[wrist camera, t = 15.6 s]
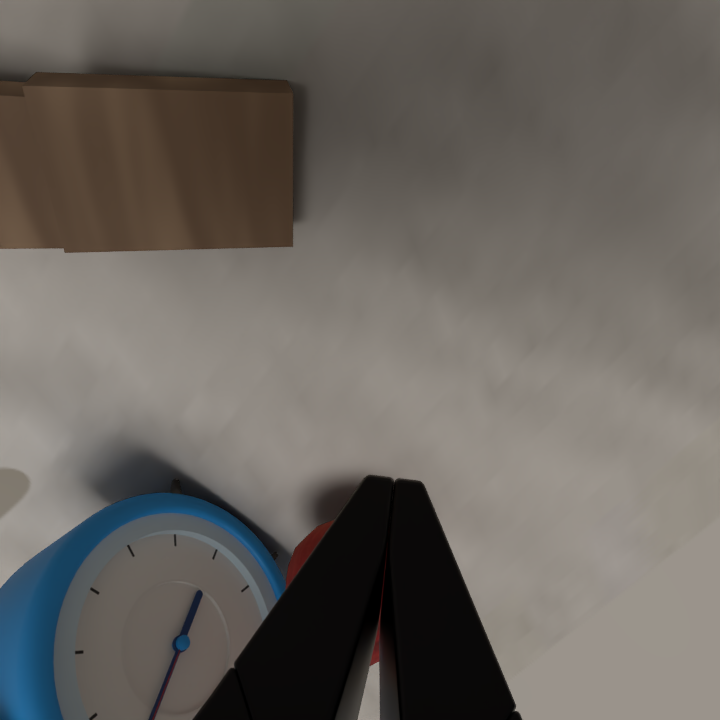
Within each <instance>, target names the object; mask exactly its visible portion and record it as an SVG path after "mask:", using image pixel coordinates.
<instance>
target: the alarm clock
mask: <svg viewBox="0 0 720 720" xmlns="http://www.w3.org/2000/svg"><path fill="white" fill-rule="evenodd" d="M277 556H278V554H277V552H274V553H273V554H271V555H270V553H269V552H268V550H267V549H266V548H265V546H264V545H263V544H262V542H261V541H260V540H259V539H258V538H257V537H256V535H255V534H254V533H253V532H252V531H251V530H250V529H249V528H248V527H247V526H246V525H244V524H243V523H242V522H241V521H240V520H238V519H237V518H236V517H234V516H233V515H231V514H230V513H228V512H227V511H225V510H223V509H222V508H220V507H218V506H216V505H214V504H212V503H209V502H207V501H205V500H202V499H199V498H196V497H192V496H188V495H183V494H182V492H181V488H180V483H179V480H177V479H174V480H173V481H172V485H171V491H170V493H151V494H144V495H139V496H135V497H131V498H128V499H125V500H122V501H119V502H116V503H114V504H112V505H110V506H108V507H105V508H104V509H102V510H100V511H99V512H97V513H95V514H94V515H92V516H91V517H89V518H88V519H86V520H85V521H84V522H82V523H81V524H79V525H78V526H76V527H75V528H74V529H72V530H71V531H69V532H68V533H67V534H65V535H64V536H62V537H61V538H60V539H58V540H57V541H55V542H54V543H52V544H51V545H50V546H48V547H47V548H45V549H44V550H43V551H41V552H40V553H38V554H37V555H36V556H34V557H33V558H32V559H30V560H29V561H28V562H26V563H25V564H24V565H23V566H22V567H21V568H19V569H18V570H17V571H16V572H15V573H14V574H13V575H12V576H11V577H10V578H9V579H8V580H7V581H6V583H5V584H4V585H3V586H2V587H1V588H0V720H192V719H193V718H194V716H195V715H196V714H197V712H198V711H199V710H200V708H201V707H202V706H203V704H204V703H205V702H206V700H207V699H208V698H209V696H210V695H211V694H212V692H213V691H214V689H215V688H216V687H217V685H218V684H219V682H220V681H221V680H222V678H223V677H224V675H225V674H226V672H227V671H228V670H229V669H230V668H234V662H235V660H236V659H237V657H238V656H239V655H240V653H241V652H242V650H243V649H244V648H245V646H246V645H247V643H248V642H249V640H250V639H251V638H252V636H253V635H254V633H255V632H256V631H257V629H258V628H259V626H260V625H261V623H262V622H263V621H264V619H265V618H266V616H267V615H268V614H269V612H270V611H271V609H272V608H273V606H274V605H275V604H276V602H277V601H278V599H279V598H280V597H281V595H282V594H283V592H284V591H285V588H286V582H285V580H284V578H283V576H282V574H281V572H280V570H279V568H278V566H277V564H276V562H275V559H276V558H277Z"/></svg>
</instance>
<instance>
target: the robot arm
mask: <svg viewBox="0 0 720 720" xmlns="http://www.w3.org/2000/svg"><path fill="white" fill-rule="evenodd" d="M393 487H394V490H393ZM392 497H393V499H392ZM391 507H392V509H391ZM390 516H391V518H390ZM389 526H390V527H389ZM388 535H389V536H388ZM387 544H388V546H387ZM386 554H387V555H386ZM385 563H386V565H385ZM384 572H385V575H384ZM383 582H384V584H383ZM382 591H383V594H382ZM381 600H382V604H381ZM380 610H381V614H380ZM379 617H380V629H379V667H380V720H522V718H521V715H520V714H519V712H517V711H515V708H516V704H515V702H514V699H513V697H512V694H511V692H510V690H509V687H508V685H507V682H506V680H505V678H504V675H503V673H502V670H501V668H500V666H499V663H498V661H497V658H496V656H495V654H494V651H493V649H492V646H491V644H490V642H489V639H488V637H487V634H486V632H485V630H484V627H483V625H482V622H481V620H480V618H479V615H478V613H477V610H476V608H475V606H474V603H473V601H472V598H471V596H470V594H469V591H468V589H467V586H466V584H465V582H464V579H463V577H462V574H461V572H460V570H459V567H458V565H457V562H456V560H455V557H454V555H453V553H452V550H451V548H450V545H449V543H448V541H447V538H446V536H445V533H444V531H443V529H442V526H441V524H440V521H439V519H438V517H437V514H436V512H435V509H434V507H433V505H432V502H431V500H430V497H429V495H428V493H427V490H426V488H425V486H424V484H423V483H422V482H421V481H417V480H409V479H401V478H399V479H396V480H395V482H394V481H393V479H392V478H391V477H385V476H377V475H368V476H366V477H365V478H364V479H363V480H362V482H361V483H360V485H359V486H358V488H357V489H356V490H355V492H354V493H353V495H352V496H351V497H350V499H349V500H348V502H347V503H346V505H345V506H344V507H343V509H342V510H341V512H340V513H339V514H338V516H337V517H336V519H335V520H334V522H333V523H332V524H331V526H330V527H329V529H328V530H327V531H326V533H325V534H324V536H323V537H322V539H321V540H320V541H319V543H318V544H317V546H316V547H315V548H314V550H313V551H312V553H311V554H310V555H309V557H308V558H307V560H306V561H305V563H304V564H303V565H302V567H301V568H300V570H299V571H298V572H297V574H296V575H295V577H294V578H293V580H292V581H291V582H290V584H289V585H288V587H287V588H286V589H285V591H284V592H283V594H282V595H281V597H280V598H279V599H278V601H277V602H276V604H275V605H274V606H273V608H272V609H271V611H270V612H269V614H268V615H267V616H266V618H265V619H264V621H263V622H262V623H261V625H260V626H259V628H258V629H257V631H256V632H255V633H254V635H253V636H252V638H251V639H250V640H249V642H248V643H247V645H246V646H245V648H244V649H243V650H242V652H241V653H240V655H239V656H238V657H237V659H236V660H235V662H234V668H230V669H229V670H228V671H227V672H226V674H225V675H224V677H223V678H222V680H221V681H220V682H219V684H218V685H217V687H216V688H215V689H214V691H213V692H212V694H211V695H210V696H209V698H208V699H207V700H206V702H205V703H204V704H203V706H202V707H201V708H200V710H199V711H198V712H197V714H196V715H195V716H194V718H193V719H192V720H357V719H358V714H359V710H360V706H361V701H362V697H363V693H364V688H365V684H366V680H367V675H368V671H369V667H370V662H371V658H372V653H373V649H374V645H375V640H376V635H377V630H378V624H379Z"/></svg>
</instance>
